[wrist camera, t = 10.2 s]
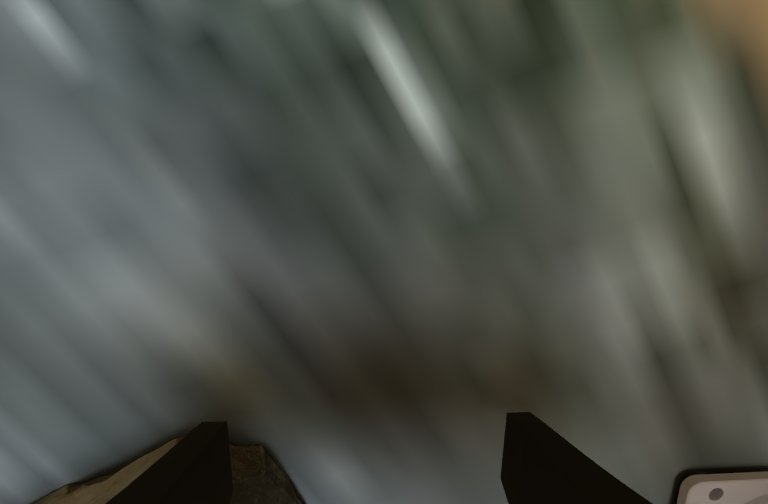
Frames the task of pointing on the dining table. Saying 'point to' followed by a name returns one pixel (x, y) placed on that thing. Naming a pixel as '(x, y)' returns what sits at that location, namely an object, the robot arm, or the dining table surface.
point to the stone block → (249, 464)
